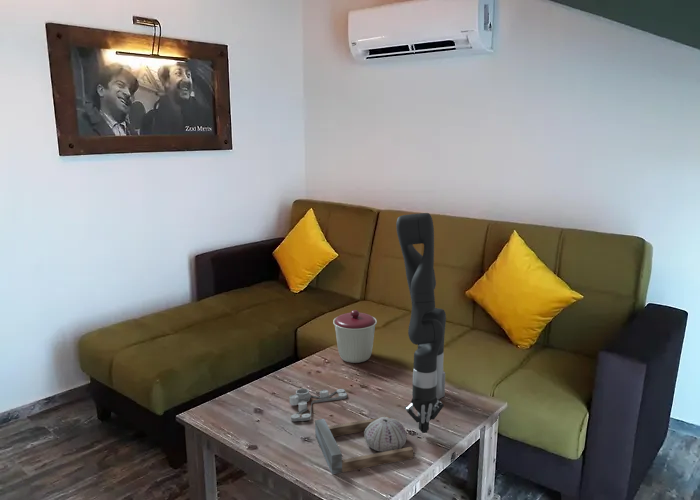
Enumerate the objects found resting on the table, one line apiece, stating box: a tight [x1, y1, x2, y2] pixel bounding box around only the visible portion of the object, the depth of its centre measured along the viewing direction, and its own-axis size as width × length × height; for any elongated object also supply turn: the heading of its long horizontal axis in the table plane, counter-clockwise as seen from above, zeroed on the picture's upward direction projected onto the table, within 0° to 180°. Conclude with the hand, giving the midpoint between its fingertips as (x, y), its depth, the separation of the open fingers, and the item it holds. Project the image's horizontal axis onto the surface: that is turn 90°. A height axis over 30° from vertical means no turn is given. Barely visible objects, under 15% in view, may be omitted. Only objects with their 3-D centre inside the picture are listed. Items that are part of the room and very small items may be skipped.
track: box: [314, 415, 414, 475], centre depth 174 cm, size 25×20×6 cm
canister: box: [332, 309, 378, 364], centre depth 236 cm, size 18×18×21 cm
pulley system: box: [288, 388, 348, 422], centre depth 202 cm, size 27×5×15 cm
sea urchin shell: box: [363, 416, 408, 453], centre depth 176 cm, size 13×14×8 cm
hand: (423, 431), depth 181 cm, fingers closed
